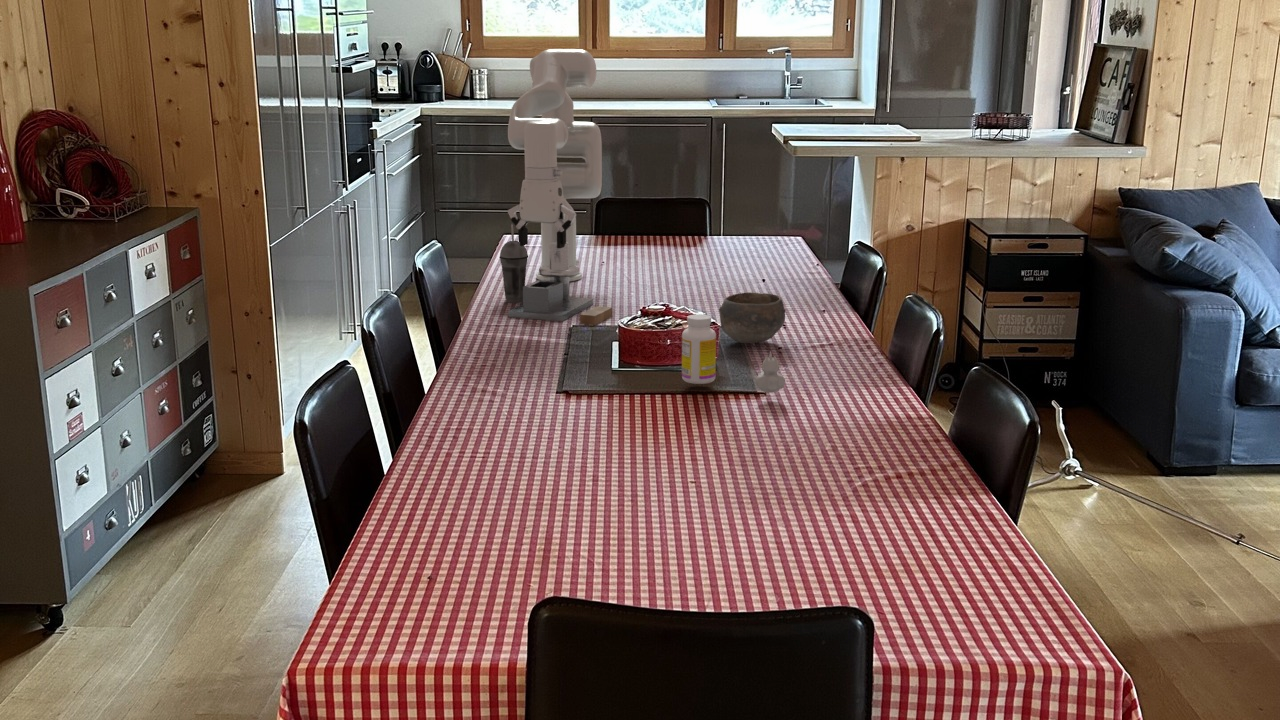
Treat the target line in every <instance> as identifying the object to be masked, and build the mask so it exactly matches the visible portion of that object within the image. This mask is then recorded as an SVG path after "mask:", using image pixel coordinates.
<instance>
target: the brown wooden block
mask: <svg viewBox="0 0 1280 720" xmlns="http://www.w3.org/2000/svg"><path fill="white" fill-rule="evenodd" d="M611 317H613V307H611V306H602V305H597V306H595V307H592V308H590V309H588V310H586V311H584V312H582V313H580V314H579V324H584V325H591V326H592V325H594V326H596V325H598V324H600V323H602V322H604V321H605V320H607V319H610V318H611Z"/></svg>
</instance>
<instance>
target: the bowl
mask: <svg viewBox="0 0 1280 720" xmlns="http://www.w3.org/2000/svg"><path fill="white" fill-rule="evenodd" d="M783 302H784V301H783V299H782V298H781V296H780V295H777V294H773V293H765V292H764V293H761V292H760V293H759V292H753V291H752V292H741V293H735V294H732V295H729V296H727V297H725V298H724V299H723V302H722V304H721V306H719V308H718V312H719V319H720V321H719V322H720V328H721V329H722V331H723V333H724V334H725V335H727V336H728V337H729V338H730V339H732V340H733V341H735V342H737V343H741V344H754V343H755V344H756V343H761V342H765V341H768V340H770V339H773V337H774V336H775V335H776V334H777V333H778V332H780V330H781V328H782V327H783V325H784V323H785V320H786V309H785V305H784V303H783Z"/></svg>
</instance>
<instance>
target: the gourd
mask: <svg viewBox="0 0 1280 720" xmlns="http://www.w3.org/2000/svg"><path fill="white" fill-rule="evenodd" d="M779 365H780V364H779V361H778V359H777V357H776V355H774V356H773V355H772V352H771V350H770V351H769V356H768V355H766V356H765V358H764V360H763V362H762V368H761V369H762V371H761V372H760V373H759V374H758V375H757V376H756V378H755V385H756V387H757V389H759V390H760V391H762V392H764V393H768V394H769V393H776V392H779V391H780V390H783V388H784V387H785V382H786V379H785V377H784V375H782V374H780V373H779Z"/></svg>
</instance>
